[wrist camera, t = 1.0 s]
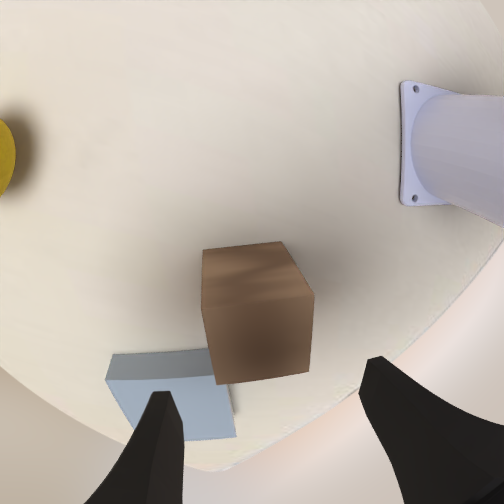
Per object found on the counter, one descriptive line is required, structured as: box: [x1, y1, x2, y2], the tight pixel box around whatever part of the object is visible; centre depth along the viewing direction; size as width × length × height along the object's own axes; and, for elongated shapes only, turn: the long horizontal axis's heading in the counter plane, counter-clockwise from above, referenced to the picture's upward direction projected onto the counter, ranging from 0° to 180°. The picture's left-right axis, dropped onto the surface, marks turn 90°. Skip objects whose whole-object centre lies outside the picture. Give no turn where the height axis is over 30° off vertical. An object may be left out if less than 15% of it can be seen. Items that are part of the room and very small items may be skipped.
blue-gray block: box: [105, 348, 237, 441], centre depth 20 cm, size 8×8×3 cm
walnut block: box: [201, 241, 314, 385], centre depth 15 cm, size 4×4×6 cm
